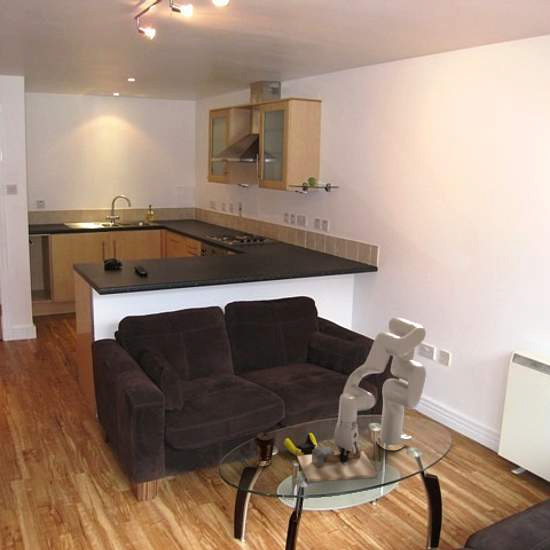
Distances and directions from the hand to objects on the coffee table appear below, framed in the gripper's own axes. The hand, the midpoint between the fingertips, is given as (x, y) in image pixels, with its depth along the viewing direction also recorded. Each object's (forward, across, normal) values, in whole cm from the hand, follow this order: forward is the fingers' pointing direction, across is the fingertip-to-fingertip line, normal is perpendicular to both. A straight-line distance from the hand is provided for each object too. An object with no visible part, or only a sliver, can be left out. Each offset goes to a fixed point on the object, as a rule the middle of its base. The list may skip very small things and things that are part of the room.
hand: (343, 461), depth 258 cm
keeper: (+1, +6, +7) cm, 9 cm away
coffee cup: (+2, +23, +25) cm, 34 cm away
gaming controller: (+3, +20, +5) cm, 20 cm away
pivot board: (+2, +1, +3) cm, 4 cm away
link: (+1, +3, -2) cm, 4 cm away
